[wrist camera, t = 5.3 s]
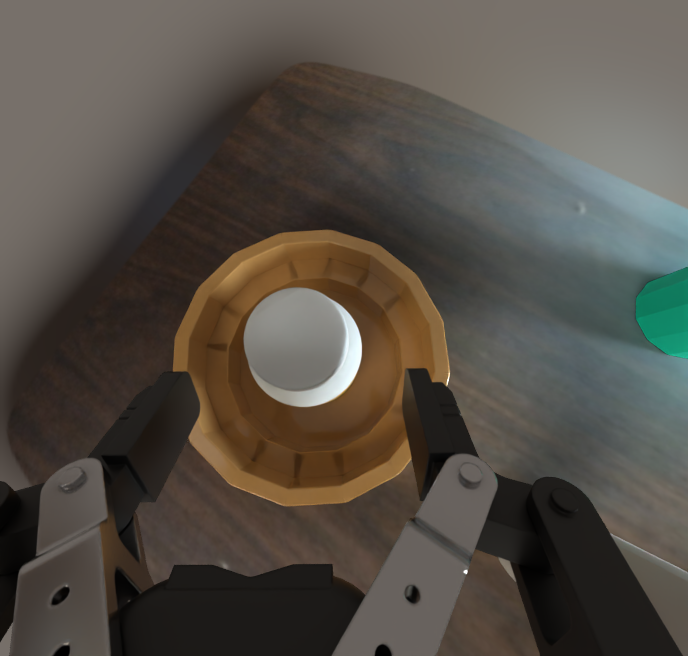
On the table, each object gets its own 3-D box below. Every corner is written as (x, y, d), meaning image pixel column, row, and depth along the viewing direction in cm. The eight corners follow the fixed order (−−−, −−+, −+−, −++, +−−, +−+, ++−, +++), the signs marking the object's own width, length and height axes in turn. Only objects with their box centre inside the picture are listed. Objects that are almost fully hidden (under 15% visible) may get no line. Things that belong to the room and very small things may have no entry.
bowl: (261, 522, 20) (232, 563, 15) (182, 317, 23) (137, 294, 18) (466, 415, 21) (501, 420, 16) (365, 235, 24) (369, 192, 19)
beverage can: (551, 600, 18) (904, 947, 7) (474, 554, 19) (677, 799, 7) (579, 519, 19) (934, 702, 8) (505, 478, 20) (730, 588, 8)
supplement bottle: (261, 371, 21) (193, 347, 12) (312, 310, 22) (285, 243, 13) (324, 422, 20) (304, 440, 11) (374, 357, 21) (393, 322, 12)
